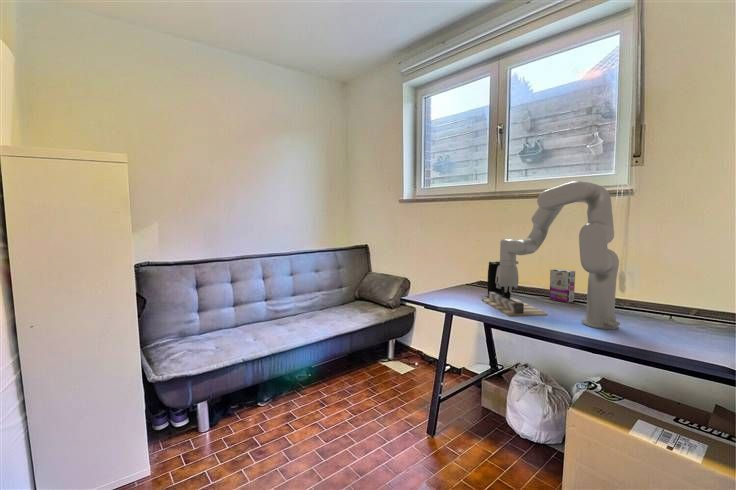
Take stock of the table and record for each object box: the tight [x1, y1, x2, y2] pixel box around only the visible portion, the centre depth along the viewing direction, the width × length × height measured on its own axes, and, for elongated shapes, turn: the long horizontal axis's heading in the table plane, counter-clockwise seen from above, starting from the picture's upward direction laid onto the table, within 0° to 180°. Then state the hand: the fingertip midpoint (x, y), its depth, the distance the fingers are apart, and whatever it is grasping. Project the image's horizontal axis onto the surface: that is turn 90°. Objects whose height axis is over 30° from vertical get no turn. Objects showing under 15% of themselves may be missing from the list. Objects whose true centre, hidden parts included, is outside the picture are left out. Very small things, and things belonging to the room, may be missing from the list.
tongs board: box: [481, 292, 548, 317], centre depth 169 cm, size 30×18×5 cm, turn 5°
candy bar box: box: [549, 268, 576, 304], centre depth 182 cm, size 11×5×16 cm, turn 25°
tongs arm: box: [493, 292, 518, 303], centre depth 169 cm, size 25×2×4 cm, turn 6°
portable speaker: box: [487, 261, 503, 297], centre depth 190 cm, size 9×9×20 cm
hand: (506, 299), depth 173 cm, fingers closed
